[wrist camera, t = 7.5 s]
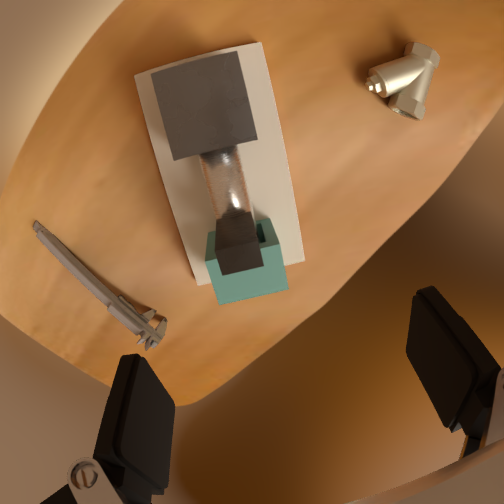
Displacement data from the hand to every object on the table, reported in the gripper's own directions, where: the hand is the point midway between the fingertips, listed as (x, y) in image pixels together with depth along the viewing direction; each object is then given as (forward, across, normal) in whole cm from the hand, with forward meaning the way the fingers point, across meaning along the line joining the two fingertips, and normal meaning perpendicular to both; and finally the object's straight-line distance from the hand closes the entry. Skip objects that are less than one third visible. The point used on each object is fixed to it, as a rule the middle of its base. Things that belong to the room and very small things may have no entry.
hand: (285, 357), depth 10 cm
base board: (+23, +2, -1) cm, 23 cm away
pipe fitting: (+24, -18, -8) cm, 31 cm away
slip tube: (+21, +2, +1) cm, 21 cm away
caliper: (+23, +20, +6) cm, 31 cm away
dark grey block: (+22, +2, -8) cm, 24 cm away
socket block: (+22, +2, +7) cm, 23 cm away
